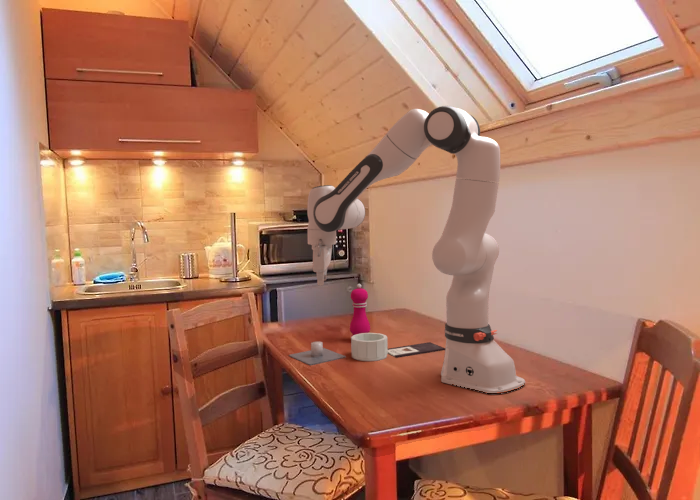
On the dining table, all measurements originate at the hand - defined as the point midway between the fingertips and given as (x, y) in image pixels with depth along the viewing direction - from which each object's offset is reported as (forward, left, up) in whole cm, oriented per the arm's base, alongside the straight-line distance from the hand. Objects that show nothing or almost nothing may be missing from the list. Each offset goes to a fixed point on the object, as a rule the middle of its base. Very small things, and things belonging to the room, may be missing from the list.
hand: (322, 282), depth 163 cm
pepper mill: (+8, -20, -23) cm, 32 cm away
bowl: (-9, -11, -23) cm, 27 cm away
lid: (+1, +2, -24) cm, 24 cm away
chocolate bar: (-13, -26, -24) cm, 38 cm away
